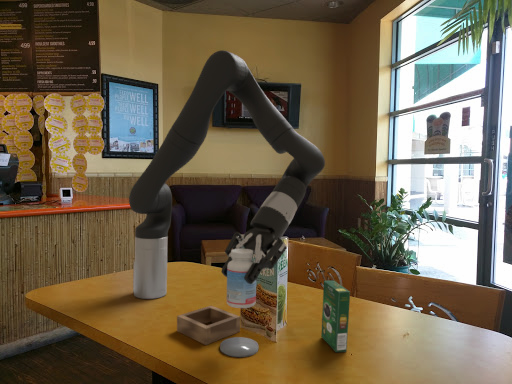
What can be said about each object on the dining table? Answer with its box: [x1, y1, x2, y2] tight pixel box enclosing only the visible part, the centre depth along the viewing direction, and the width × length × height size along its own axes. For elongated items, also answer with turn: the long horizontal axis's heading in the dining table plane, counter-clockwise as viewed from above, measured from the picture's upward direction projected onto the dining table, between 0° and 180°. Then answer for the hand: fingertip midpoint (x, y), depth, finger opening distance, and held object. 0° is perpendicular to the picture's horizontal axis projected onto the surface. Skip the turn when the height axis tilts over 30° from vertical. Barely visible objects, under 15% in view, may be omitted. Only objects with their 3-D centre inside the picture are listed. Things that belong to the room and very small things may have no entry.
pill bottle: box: [226, 248, 257, 309], centre depth 80 cm, size 6×6×11 cm
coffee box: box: [320, 280, 351, 353], centre depth 84 cm, size 8×3×13 cm, turn 13°
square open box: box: [176, 305, 241, 346], centre depth 89 cm, size 10×10×4 cm
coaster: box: [219, 336, 259, 358], centre depth 81 cm, size 8×8×1 cm
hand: (235, 277), depth 79 cm, fingers closed on pill bottle, 6 cm apart
